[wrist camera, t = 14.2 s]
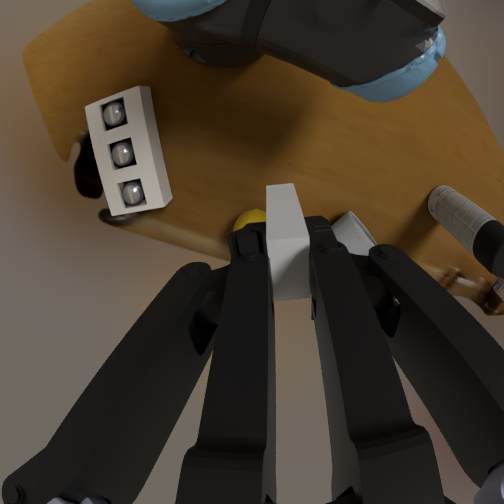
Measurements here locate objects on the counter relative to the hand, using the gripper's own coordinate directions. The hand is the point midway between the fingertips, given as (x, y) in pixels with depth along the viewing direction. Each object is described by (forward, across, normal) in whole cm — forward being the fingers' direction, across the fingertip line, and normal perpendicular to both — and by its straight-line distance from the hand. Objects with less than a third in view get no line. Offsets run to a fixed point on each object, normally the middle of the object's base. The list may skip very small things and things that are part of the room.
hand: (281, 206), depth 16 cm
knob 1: (+26, -22, +10) cm, 35 cm away
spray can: (+27, +30, -11) cm, 42 cm away
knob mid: (+26, -22, +3) cm, 34 cm away
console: (+26, -22, +3) cm, 35 cm away
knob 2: (+26, -22, -4) cm, 34 cm away
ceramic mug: (+27, +11, -17) cm, 34 cm away
